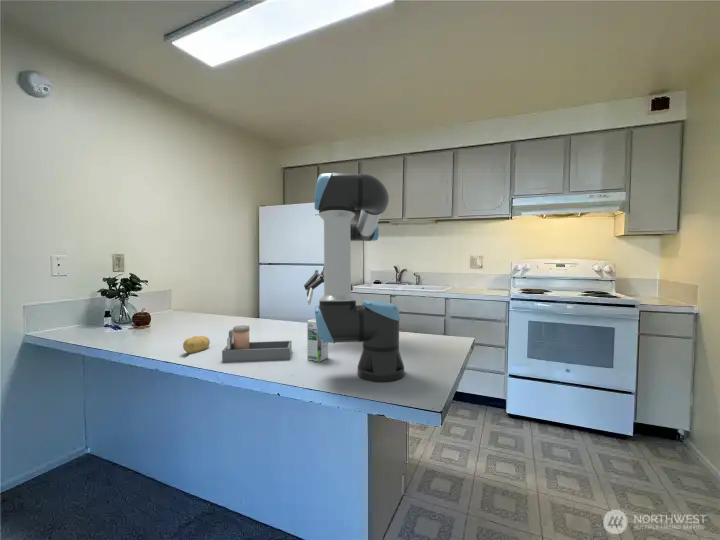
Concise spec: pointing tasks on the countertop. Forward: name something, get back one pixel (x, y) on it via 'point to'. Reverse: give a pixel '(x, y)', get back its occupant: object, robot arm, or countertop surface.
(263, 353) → the gray tray
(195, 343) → the potato
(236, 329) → the jar
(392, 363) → the robot arm
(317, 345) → the syrup box
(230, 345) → the pusher
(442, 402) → the countertop surface
